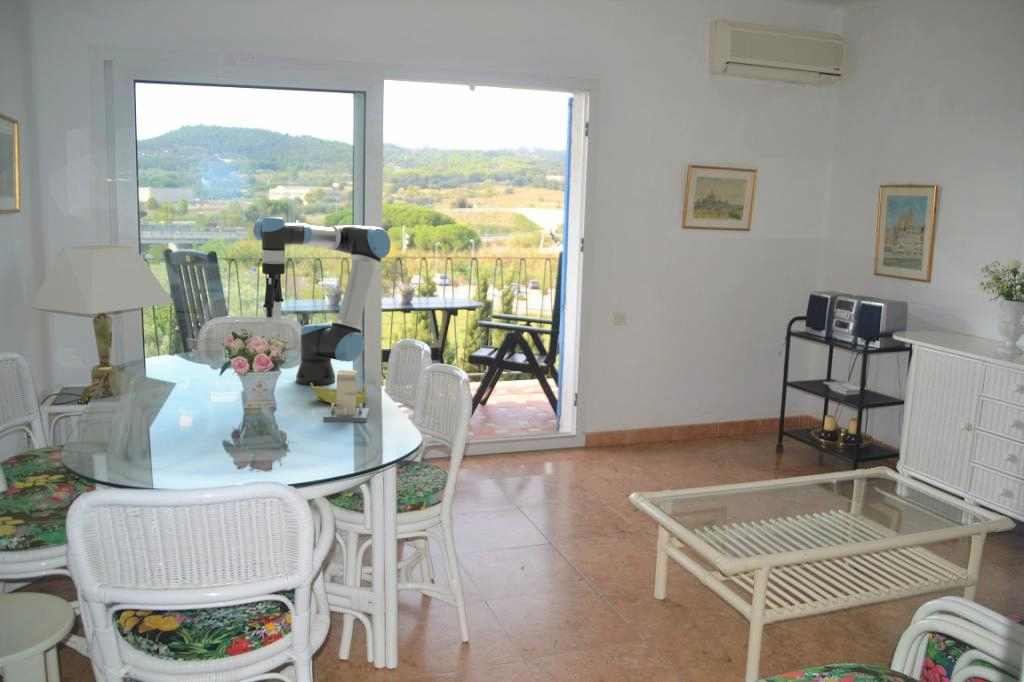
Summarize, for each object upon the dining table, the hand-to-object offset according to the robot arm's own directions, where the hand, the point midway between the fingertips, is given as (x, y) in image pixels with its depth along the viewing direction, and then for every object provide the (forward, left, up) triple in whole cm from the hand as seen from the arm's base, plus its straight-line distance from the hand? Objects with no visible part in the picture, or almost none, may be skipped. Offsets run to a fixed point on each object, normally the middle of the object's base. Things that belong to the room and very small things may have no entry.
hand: (273, 323), depth 285 cm
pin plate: (+16, +27, -29) cm, 43 cm away
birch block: (+16, +27, -27) cm, 42 cm away
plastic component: (-4, +22, -29) cm, 37 cm away
